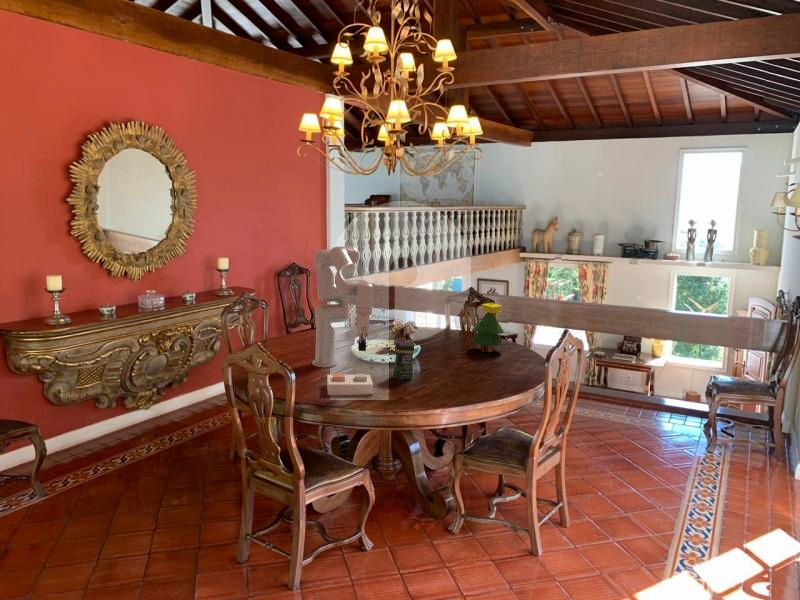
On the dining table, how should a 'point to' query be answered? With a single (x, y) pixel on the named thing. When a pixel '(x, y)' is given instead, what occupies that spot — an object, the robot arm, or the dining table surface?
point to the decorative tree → (488, 329)
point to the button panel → (349, 386)
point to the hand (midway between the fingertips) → (362, 349)
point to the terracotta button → (338, 377)
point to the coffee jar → (403, 360)
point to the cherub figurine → (403, 330)
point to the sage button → (360, 377)
